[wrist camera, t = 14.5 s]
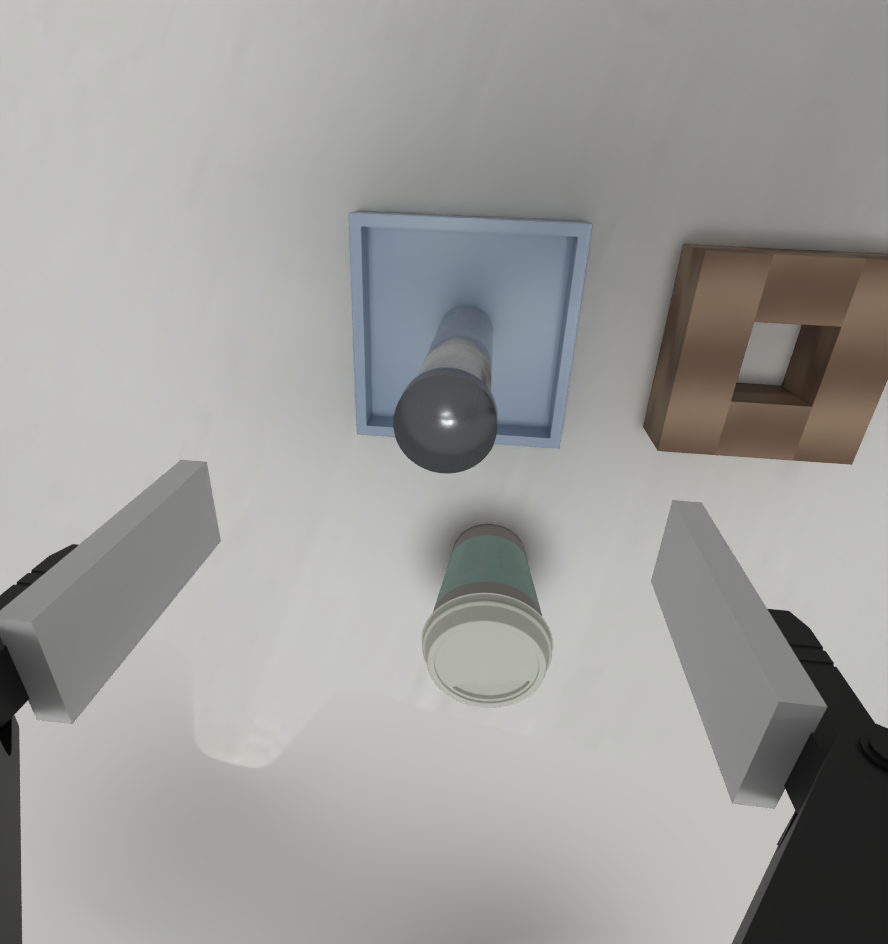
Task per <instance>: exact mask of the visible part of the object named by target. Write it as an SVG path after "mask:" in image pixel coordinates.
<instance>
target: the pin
mask: <svg viewBox="0 0 888 944" xmlns="http://www.w3.org/2000/svg"><path fill="white" fill-rule="evenodd" d="M492 350H493V327H492V323H491V321H490V319H489V317H488V316H487V315H486V314H485V313H484V312H483V311H482V310H480V309H479V308H477V307H474V306H469V305H462V306H458V307H455V308H453V309H451V310H450V311H449V312H447V313H446V314H445V316H444V317H443V319H442V320H441V323H440V325H439V327H438V330H437V332H436V334H435V337H434V339H433V341H432V344H431V346H430V348H429V351H428V353H427V355H426V358H425V360H424V362H423V365H422V367H421V369H420V372H419V374H418V376H417V377H416V378H414V379H413V380H412V381H411V382H410V383H409V384H408V385H407V387H406V388H405V390H404V391H403V393H402V395H401V397H400V399H399V402H398V404H397V406H396V409H395V412H394V417H393V429H394V434H395V437H396V440H397V443H398V445H399V446H400V448H401V450H402V451H403V452H404V454H405V455H406V456H407V457H408V458H409V459H410V460H411V461H413V462H414V463H415V464H417V465H418V466H420V467H422V468H424V469H427V470H429V471H433V472H437V473H457V472H461V471H464V470H467V469H470V468H472V467H474V466H475V465H477V464H478V463H480V462H481V461H482V460H483V459H484V458H485V457H486V456H487V455H488V453H489V452H490V450H491V449H492V447H493V445H494V442H495V439H496V435H497V406H496V403H495V400H494V397H493V395H492V393H491V379H492Z"/></svg>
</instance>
